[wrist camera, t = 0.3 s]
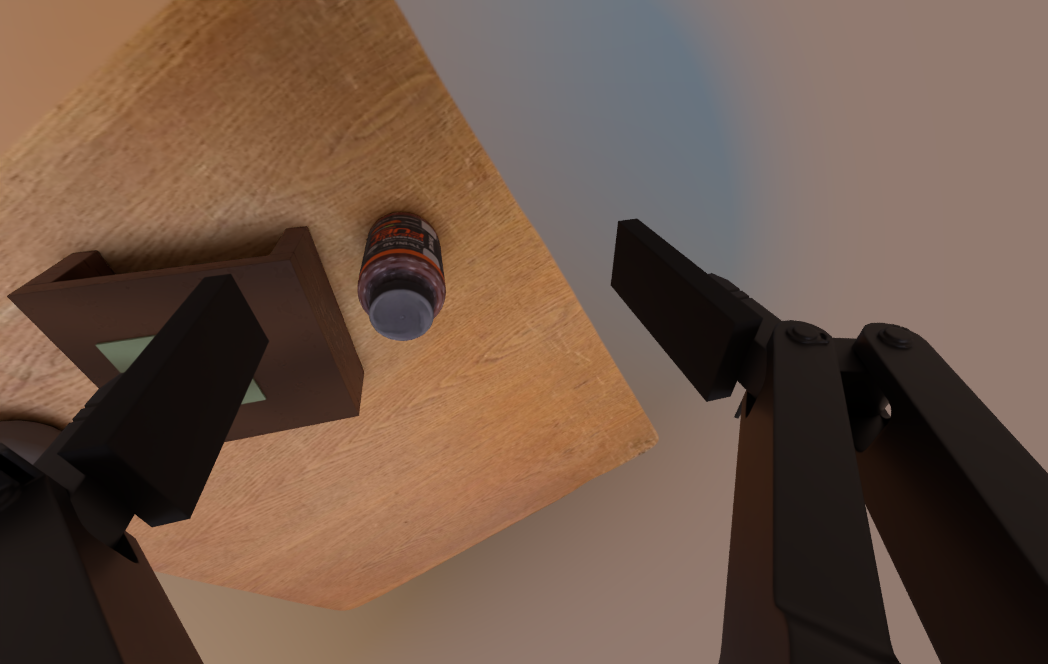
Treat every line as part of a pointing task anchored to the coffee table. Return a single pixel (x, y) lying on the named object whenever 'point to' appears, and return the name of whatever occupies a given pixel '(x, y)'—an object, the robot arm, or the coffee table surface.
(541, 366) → the coffee table surface
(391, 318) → the supplement bottle
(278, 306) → the dark wooden box
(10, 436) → the cup
